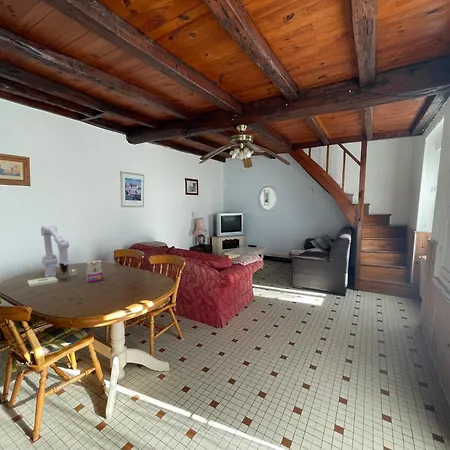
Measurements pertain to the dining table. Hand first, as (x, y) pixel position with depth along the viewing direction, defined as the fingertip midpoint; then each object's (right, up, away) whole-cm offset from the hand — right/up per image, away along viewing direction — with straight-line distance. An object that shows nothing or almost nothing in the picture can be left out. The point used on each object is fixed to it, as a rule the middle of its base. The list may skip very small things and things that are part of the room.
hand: (63, 271), depth 201 cm
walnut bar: (0, -2, 0) cm, 2 cm away
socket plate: (-12, -7, -7) cm, 16 cm away
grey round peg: (+1, -6, +11) cm, 13 cm away
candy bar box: (+25, -8, +1) cm, 26 cm away
